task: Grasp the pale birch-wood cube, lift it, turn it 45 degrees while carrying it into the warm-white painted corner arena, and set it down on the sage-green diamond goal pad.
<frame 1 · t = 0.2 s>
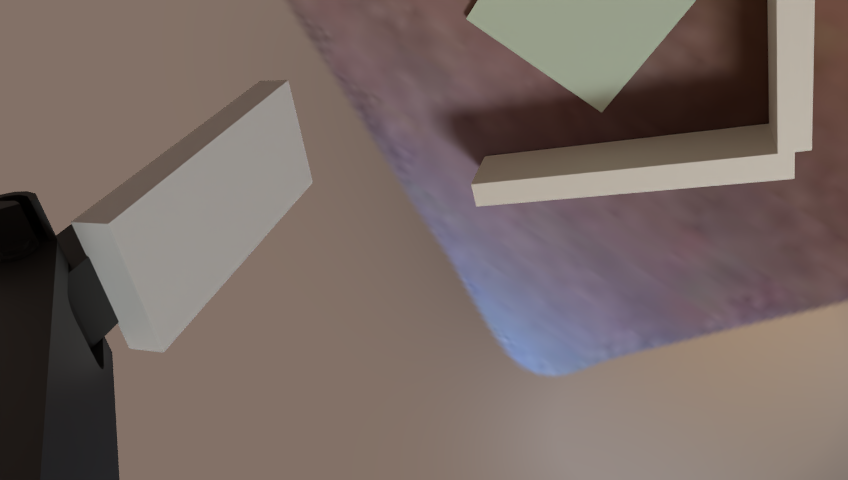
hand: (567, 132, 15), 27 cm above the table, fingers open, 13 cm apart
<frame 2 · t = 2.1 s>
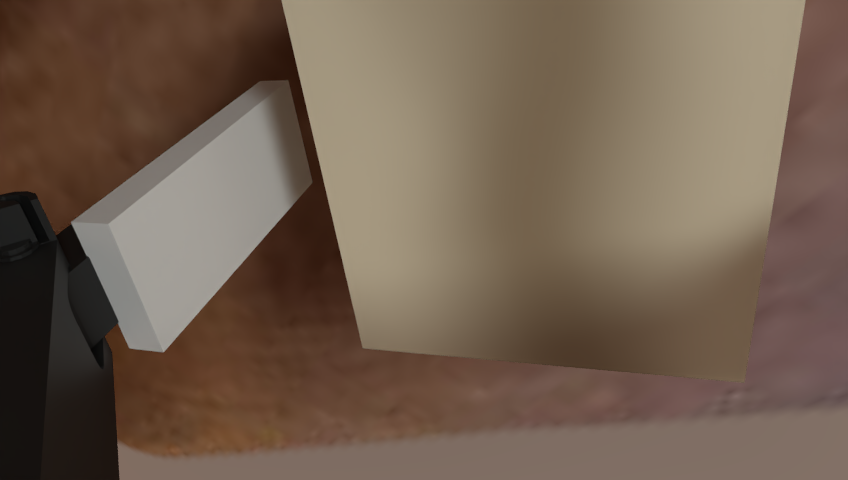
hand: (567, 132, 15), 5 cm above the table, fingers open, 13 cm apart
birch cube: (571, 55, 19), on the table
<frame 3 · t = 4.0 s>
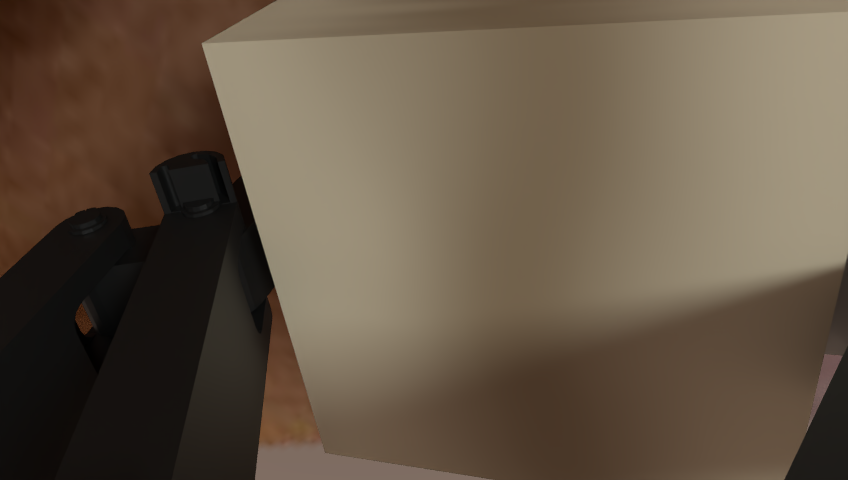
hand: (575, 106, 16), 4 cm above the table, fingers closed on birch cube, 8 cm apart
birch cube: (577, 98, 16), point 3 cm above the table, touching gripper
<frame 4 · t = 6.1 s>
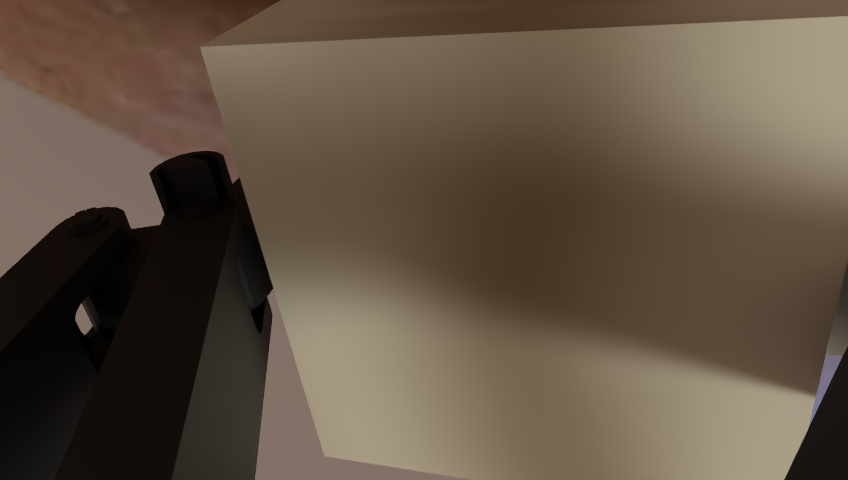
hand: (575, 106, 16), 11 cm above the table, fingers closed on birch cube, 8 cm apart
birch cube: (577, 100, 16), point 11 cm above the table, touching gripper
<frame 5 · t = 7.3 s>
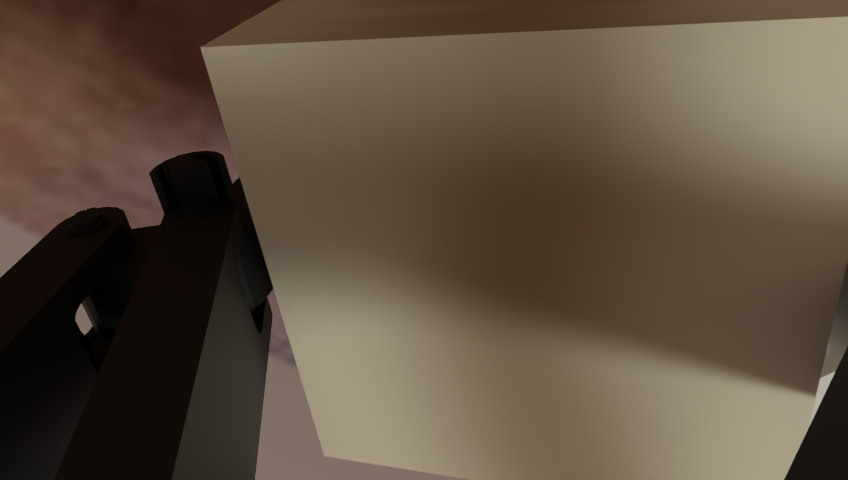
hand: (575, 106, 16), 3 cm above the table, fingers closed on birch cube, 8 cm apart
birch cube: (577, 100, 16), point 3 cm above the table, touching gripper
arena: (584, 59, 18), on the table
when the fingers open (1 cm above the table, at t = 8.2 s): birch cube stays where it is, resting on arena.
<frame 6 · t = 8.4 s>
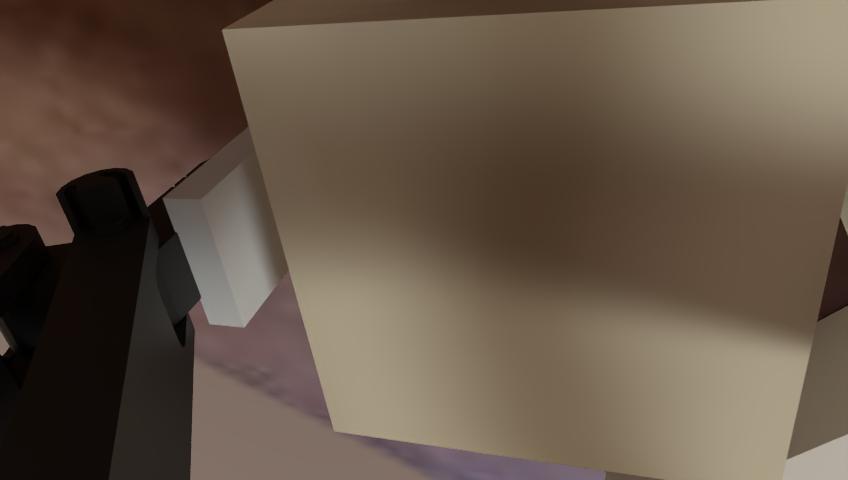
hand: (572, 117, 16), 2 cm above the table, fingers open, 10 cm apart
birch cube: (578, 90, 17), resting on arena
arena: (580, 87, 17), on the table
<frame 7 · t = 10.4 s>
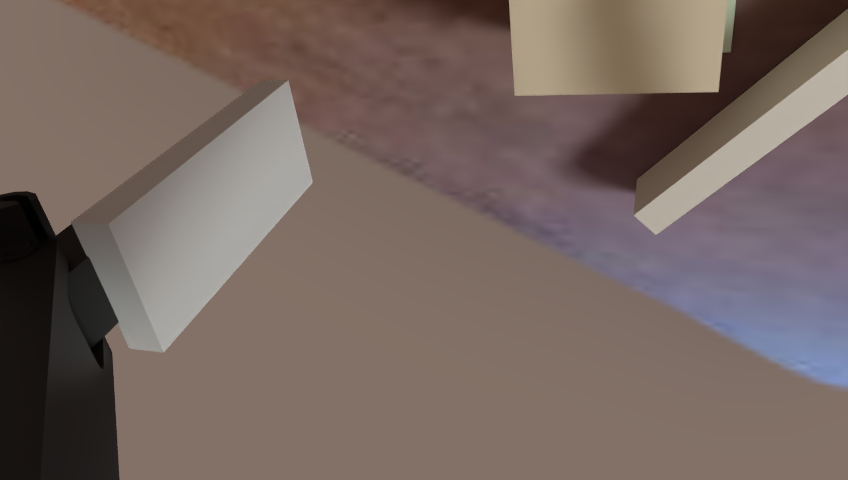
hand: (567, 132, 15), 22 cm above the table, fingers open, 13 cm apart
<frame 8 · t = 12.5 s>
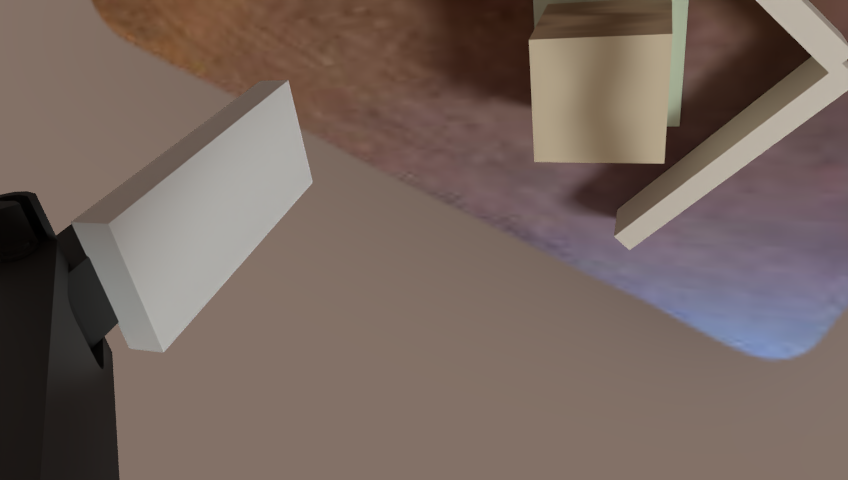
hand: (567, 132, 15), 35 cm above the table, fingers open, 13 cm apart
birch cube: (607, 59, 48), resting on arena
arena: (608, 58, 48), on the table
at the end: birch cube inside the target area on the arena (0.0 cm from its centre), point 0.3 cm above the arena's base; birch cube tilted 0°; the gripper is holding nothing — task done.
